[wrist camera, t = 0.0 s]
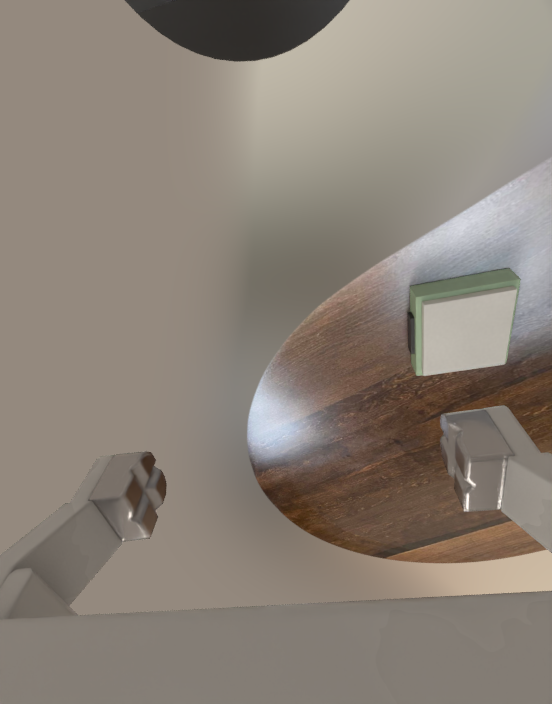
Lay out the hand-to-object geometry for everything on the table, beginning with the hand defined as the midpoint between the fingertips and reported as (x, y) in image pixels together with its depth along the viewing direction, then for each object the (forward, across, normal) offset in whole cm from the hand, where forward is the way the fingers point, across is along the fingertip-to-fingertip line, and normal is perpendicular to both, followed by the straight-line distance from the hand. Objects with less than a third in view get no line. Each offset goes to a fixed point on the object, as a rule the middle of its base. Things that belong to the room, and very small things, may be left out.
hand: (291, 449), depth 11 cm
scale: (+40, -18, +20) cm, 48 cm away
